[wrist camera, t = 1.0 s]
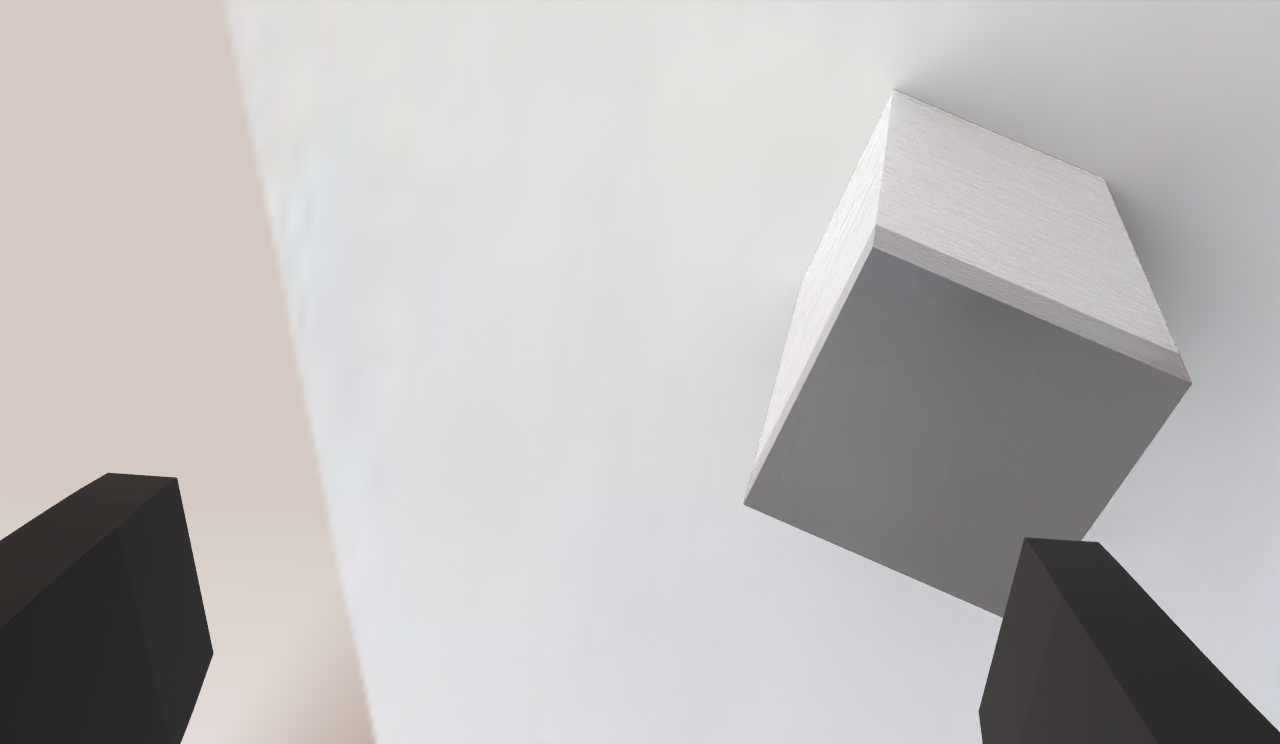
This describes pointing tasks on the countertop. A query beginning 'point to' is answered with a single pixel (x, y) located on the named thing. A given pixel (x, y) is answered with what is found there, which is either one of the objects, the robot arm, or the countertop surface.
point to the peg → (963, 359)
